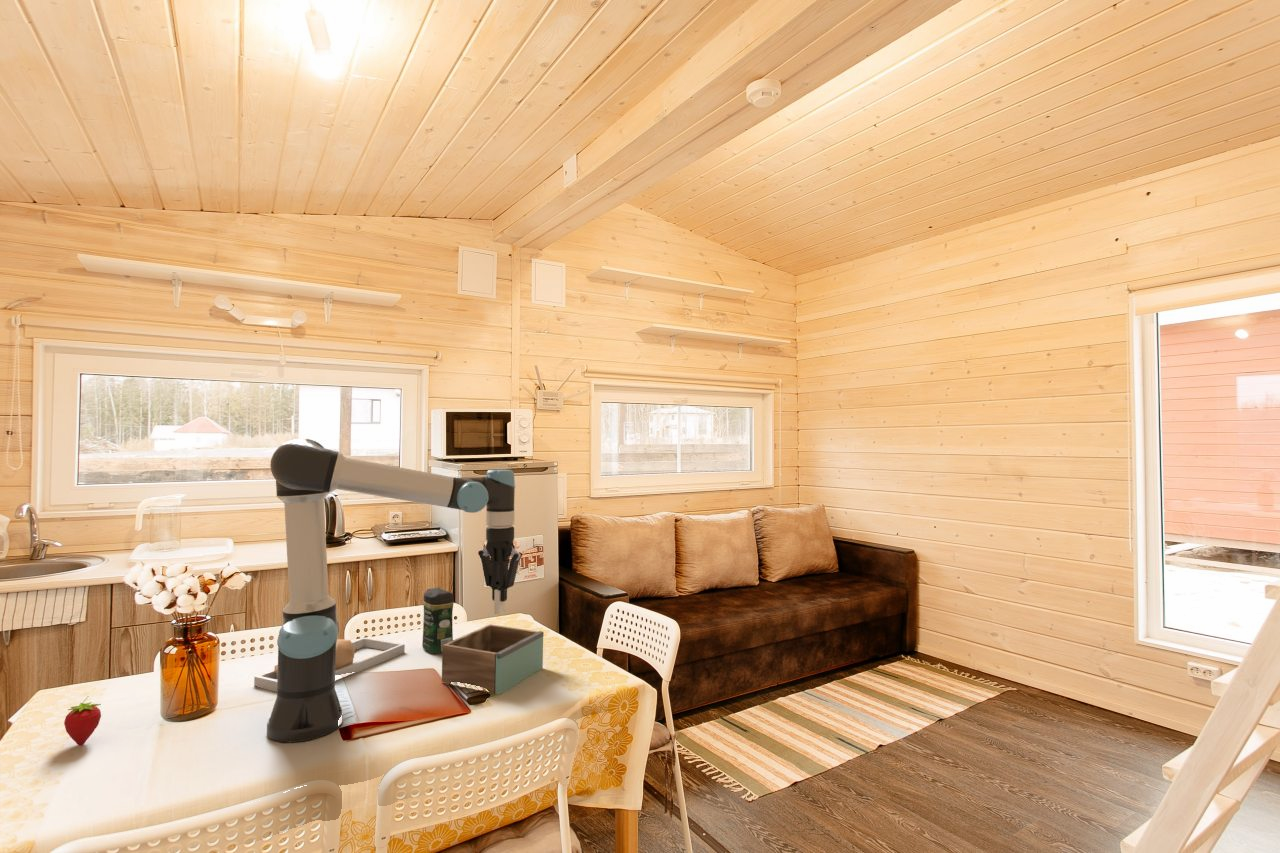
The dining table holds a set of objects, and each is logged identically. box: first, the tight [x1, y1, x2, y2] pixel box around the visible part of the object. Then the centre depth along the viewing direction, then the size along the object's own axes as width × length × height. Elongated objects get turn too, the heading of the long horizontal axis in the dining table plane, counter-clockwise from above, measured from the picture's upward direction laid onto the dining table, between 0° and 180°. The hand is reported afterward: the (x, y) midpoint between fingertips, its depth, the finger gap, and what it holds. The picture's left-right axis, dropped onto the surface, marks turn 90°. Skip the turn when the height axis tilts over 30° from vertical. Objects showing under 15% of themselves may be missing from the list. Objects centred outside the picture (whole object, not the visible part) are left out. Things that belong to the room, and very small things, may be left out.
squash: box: [273, 638, 356, 676], centre depth 177 cm, size 11×20×9 cm, turn 130°
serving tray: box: [253, 637, 406, 693], centre depth 183 cm, size 37×16×2 cm, turn 158°
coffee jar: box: [422, 587, 455, 654], centre depth 200 cm, size 10×8×19 cm
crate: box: [441, 624, 538, 695], centre depth 177 cm, size 21×16×11 cm
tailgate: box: [494, 630, 544, 695], centre depth 173 cm, size 21×1×10 cm, turn 158°
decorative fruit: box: [63, 695, 102, 746], centre depth 136 cm, size 6×8×10 cm
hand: (499, 612), depth 176 cm, fingers closed
